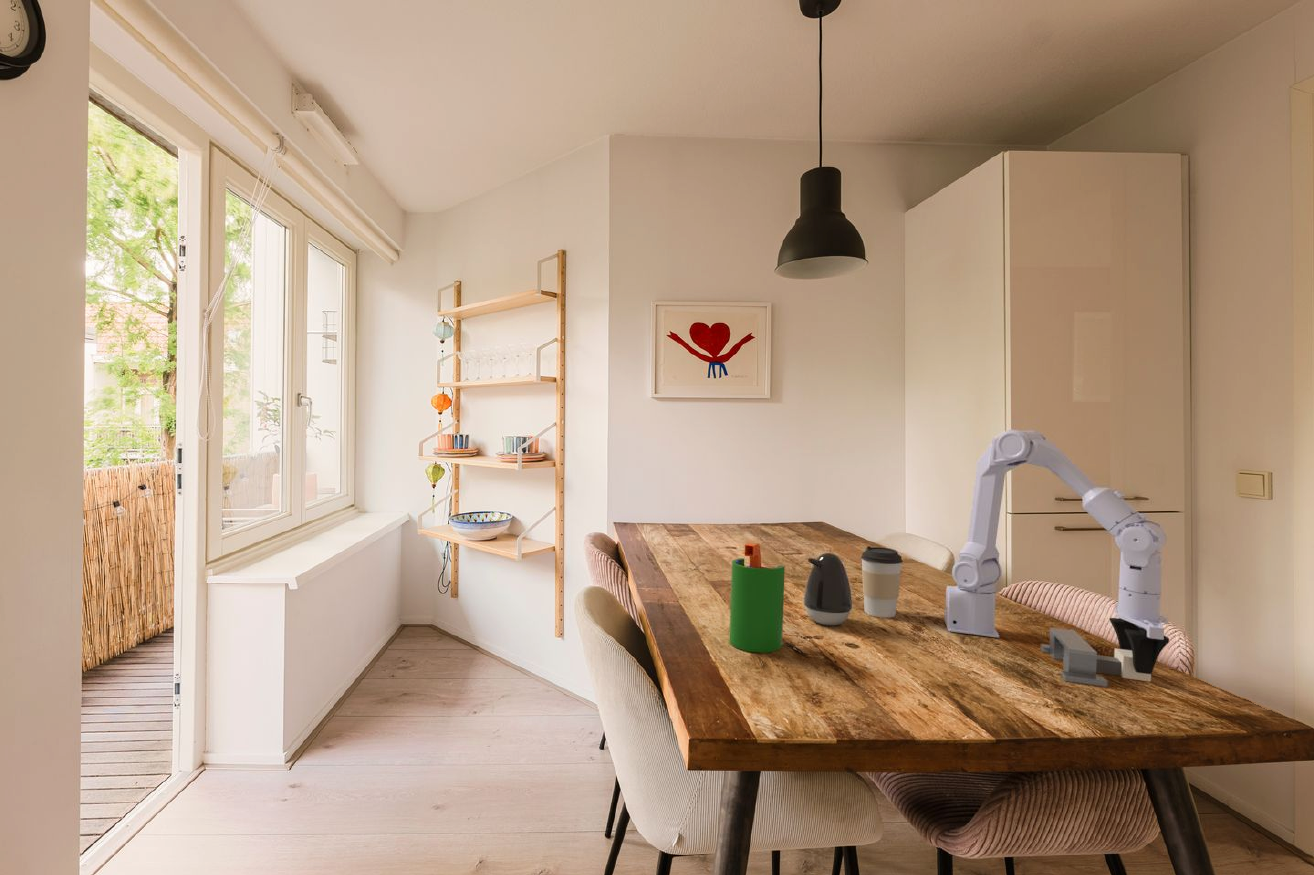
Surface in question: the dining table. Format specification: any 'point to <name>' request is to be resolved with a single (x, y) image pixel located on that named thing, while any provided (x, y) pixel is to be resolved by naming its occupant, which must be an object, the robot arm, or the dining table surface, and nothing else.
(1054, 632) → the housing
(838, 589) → the black penguin figurine
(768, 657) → the dining table surface
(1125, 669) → the plug
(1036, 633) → the dining table surface
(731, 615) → the motor
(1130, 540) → the robot arm
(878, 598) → the coffee cup
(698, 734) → the dining table surface
